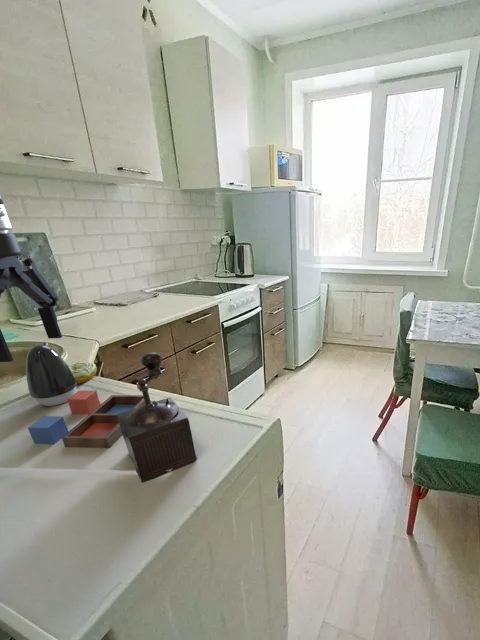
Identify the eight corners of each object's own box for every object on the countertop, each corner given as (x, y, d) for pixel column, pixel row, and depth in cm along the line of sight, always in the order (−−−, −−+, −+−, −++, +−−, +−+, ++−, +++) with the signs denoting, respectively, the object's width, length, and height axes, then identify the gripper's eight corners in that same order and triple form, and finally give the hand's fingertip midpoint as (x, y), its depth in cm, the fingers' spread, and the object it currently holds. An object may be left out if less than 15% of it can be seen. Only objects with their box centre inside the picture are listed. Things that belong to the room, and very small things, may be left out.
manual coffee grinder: (201, 459, 66) (185, 371, 58) (141, 484, 61) (113, 390, 53) (174, 424, 78) (158, 347, 70) (121, 442, 72) (97, 361, 64)
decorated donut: (55, 389, 98) (51, 377, 96) (60, 375, 106) (56, 364, 105) (97, 381, 101) (93, 369, 99) (98, 368, 110) (95, 357, 108)
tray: (65, 449, 71) (61, 437, 70) (114, 405, 88) (111, 395, 86) (110, 450, 70) (106, 438, 69) (151, 405, 86) (149, 395, 85)
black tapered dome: (84, 389, 97) (67, 336, 90) (77, 406, 88) (56, 348, 81) (42, 396, 94) (21, 342, 87) (30, 414, 85) (5, 355, 78)
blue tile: (99, 420, 80) (98, 420, 80) (116, 405, 86) (115, 404, 86) (129, 421, 79) (129, 420, 79) (144, 405, 85) (143, 404, 85)
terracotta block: (72, 416, 83) (66, 399, 81) (84, 406, 87) (78, 390, 85) (90, 416, 83) (84, 399, 81) (101, 406, 87) (96, 390, 85)
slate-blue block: (35, 446, 73) (27, 427, 71) (50, 433, 77) (43, 416, 75) (55, 446, 72) (48, 427, 70) (69, 434, 76) (63, 416, 74)
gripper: (-63, 235, 50) (-2, 373, 59) (56, 229, 72) (87, 329, 81) (-111, 238, 50) (-43, 374, 59) (22, 231, 73) (56, 330, 82)
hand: (32, 348), depth 70 cm, fingers open, 13 cm apart
